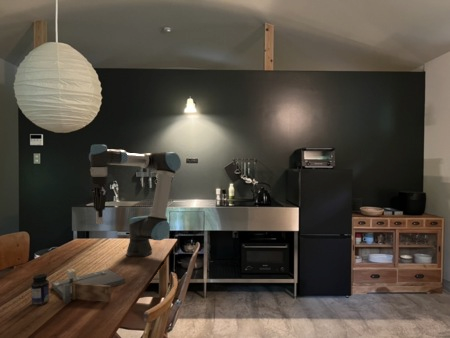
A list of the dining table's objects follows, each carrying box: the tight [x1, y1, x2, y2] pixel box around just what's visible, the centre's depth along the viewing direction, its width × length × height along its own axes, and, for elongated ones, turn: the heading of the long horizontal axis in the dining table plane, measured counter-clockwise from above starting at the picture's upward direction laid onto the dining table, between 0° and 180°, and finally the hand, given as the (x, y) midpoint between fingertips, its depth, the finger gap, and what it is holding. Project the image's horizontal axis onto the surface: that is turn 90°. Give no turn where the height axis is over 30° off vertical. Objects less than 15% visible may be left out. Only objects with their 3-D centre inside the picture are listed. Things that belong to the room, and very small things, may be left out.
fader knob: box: [66, 268, 77, 282], centre depth 142 cm, size 2×4×5 cm, turn 44°
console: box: [51, 268, 125, 299], centre depth 143 cm, size 26×18×3 cm
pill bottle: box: [30, 273, 50, 307], centre depth 125 cm, size 6×6×11 cm
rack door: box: [71, 282, 112, 302], centre depth 127 cm, size 17×2×7 cm, turn 80°
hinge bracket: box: [62, 283, 72, 304], centre depth 126 cm, size 2×3×7 cm, turn 45°
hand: (99, 223), depth 154 cm, fingers closed
